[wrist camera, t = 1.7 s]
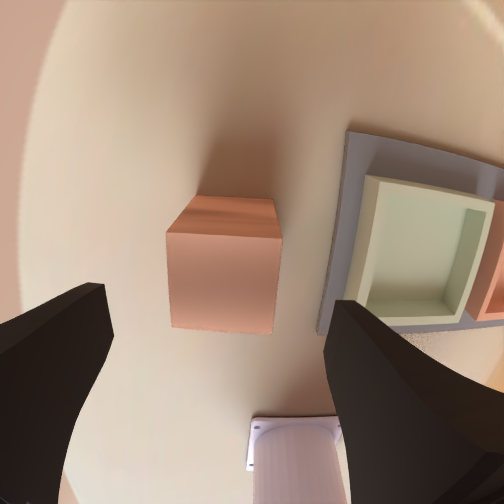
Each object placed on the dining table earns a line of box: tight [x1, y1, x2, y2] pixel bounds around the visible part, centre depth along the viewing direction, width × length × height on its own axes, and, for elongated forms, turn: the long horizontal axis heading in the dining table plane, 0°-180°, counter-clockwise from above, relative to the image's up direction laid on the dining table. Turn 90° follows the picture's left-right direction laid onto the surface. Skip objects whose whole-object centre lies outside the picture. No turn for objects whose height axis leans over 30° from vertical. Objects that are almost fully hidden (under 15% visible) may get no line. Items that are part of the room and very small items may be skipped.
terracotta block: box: [166, 195, 283, 334], centre depth 14 cm, size 4×4×6 cm
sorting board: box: [316, 131, 504, 335], centre depth 16 cm, size 12×20×3 cm, turn 86°
